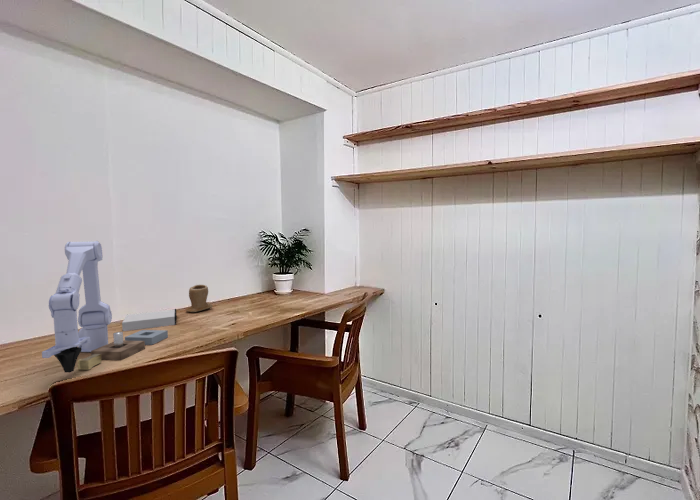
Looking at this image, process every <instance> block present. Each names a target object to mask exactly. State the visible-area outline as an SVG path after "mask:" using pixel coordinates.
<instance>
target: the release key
mask: <svg viewBox="0 0 700 500" xmlns="http://www.w3.org/2000/svg"><path fill="white" fill-rule="evenodd" d="M76 362H77V370H85V371H87V370H91V369H93V367H95V366H97V365H99V364H102V359H101V354H94V355H89V356H86V357H84V358H79V359H77V360H76Z"/></svg>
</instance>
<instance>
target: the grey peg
mask: <svg viewBox="0 0 700 500" xmlns="http://www.w3.org/2000/svg"><path fill="white" fill-rule="evenodd" d="M112 336H113V342H114V348H121V347H123V346H124V344H123V340H124V331H117V332H114V333H113V334H112Z"/></svg>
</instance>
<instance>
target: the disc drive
mask: <svg viewBox="0 0 700 500" xmlns="http://www.w3.org/2000/svg"><path fill="white" fill-rule="evenodd" d="M177 314H178V313H177V308H174V309H166V310H164V309H163V310H155V311H146V312H138V313H136V312H135V313H129V314H126V315H125V317H124V319H123V320H122V323H121V327H122V332H128V331H135V330H147V329H152V328H160V327H161V326H162V327H167V326H169V325H170V326H176V325H177V319H178V318H177V317H178V316H177ZM162 327H161V328H162Z"/></svg>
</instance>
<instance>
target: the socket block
mask: <svg viewBox="0 0 700 500" xmlns="http://www.w3.org/2000/svg"><path fill="white" fill-rule="evenodd" d="M123 344H124V346H123V347H121V348H114V341H112V342H110V343H109V342H108V344H107V345H104V346H102V347H100V348H97V349H95V350H92V351H91V352H90V354H91V355H94V354H101V360H106V361H109V360H110V361H113V360H114V361H117V360H118V361H122V360H125V359H127V358H128V357H131V356H132V355H135V354H137V353H138V352H141V351H143V350H145V349H146V345H145V341H125V339H123ZM91 355H90V356H91Z"/></svg>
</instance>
